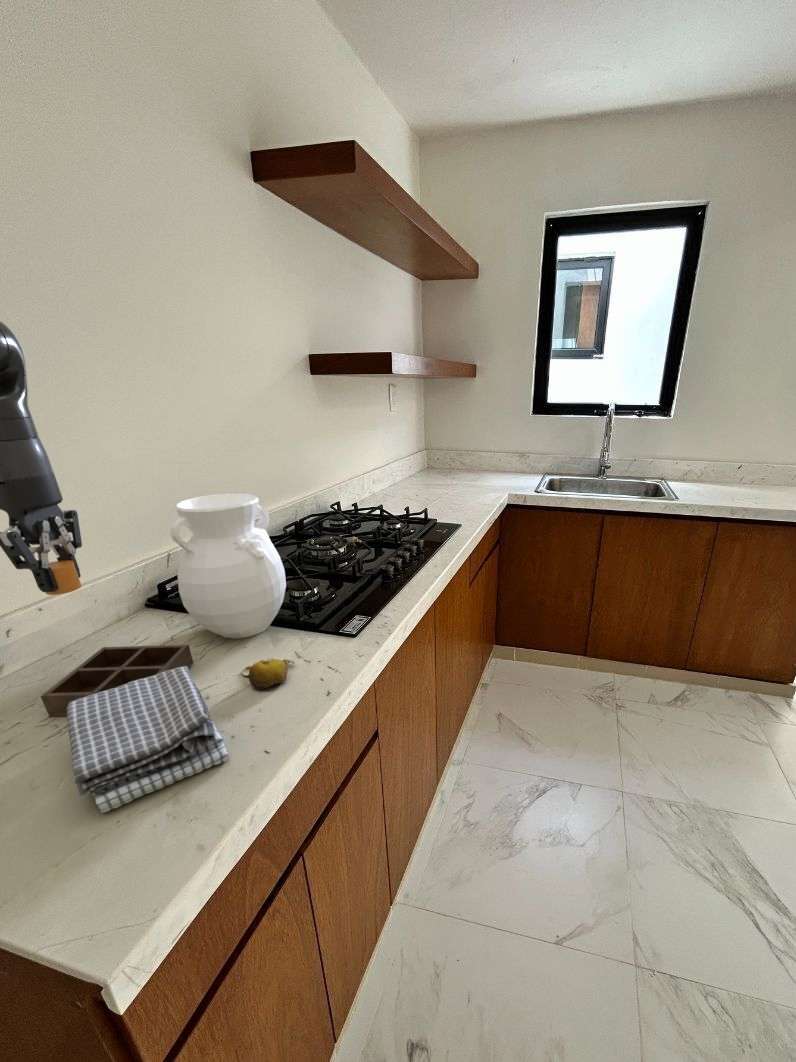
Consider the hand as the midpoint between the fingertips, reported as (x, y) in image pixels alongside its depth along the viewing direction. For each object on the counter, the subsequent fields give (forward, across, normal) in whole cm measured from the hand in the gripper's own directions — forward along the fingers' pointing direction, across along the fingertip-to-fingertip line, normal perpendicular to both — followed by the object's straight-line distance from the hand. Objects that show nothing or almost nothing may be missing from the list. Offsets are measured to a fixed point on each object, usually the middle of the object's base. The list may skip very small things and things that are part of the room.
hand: (61, 584), depth 77 cm
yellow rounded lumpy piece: (+16, +3, +30) cm, 35 cm away
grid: (+16, +6, +8) cm, 19 cm away
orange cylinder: (+1, 0, 0) cm, 1 cm away
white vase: (+16, -15, +20) cm, 30 cm away
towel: (+16, +21, +20) cm, 33 cm away
